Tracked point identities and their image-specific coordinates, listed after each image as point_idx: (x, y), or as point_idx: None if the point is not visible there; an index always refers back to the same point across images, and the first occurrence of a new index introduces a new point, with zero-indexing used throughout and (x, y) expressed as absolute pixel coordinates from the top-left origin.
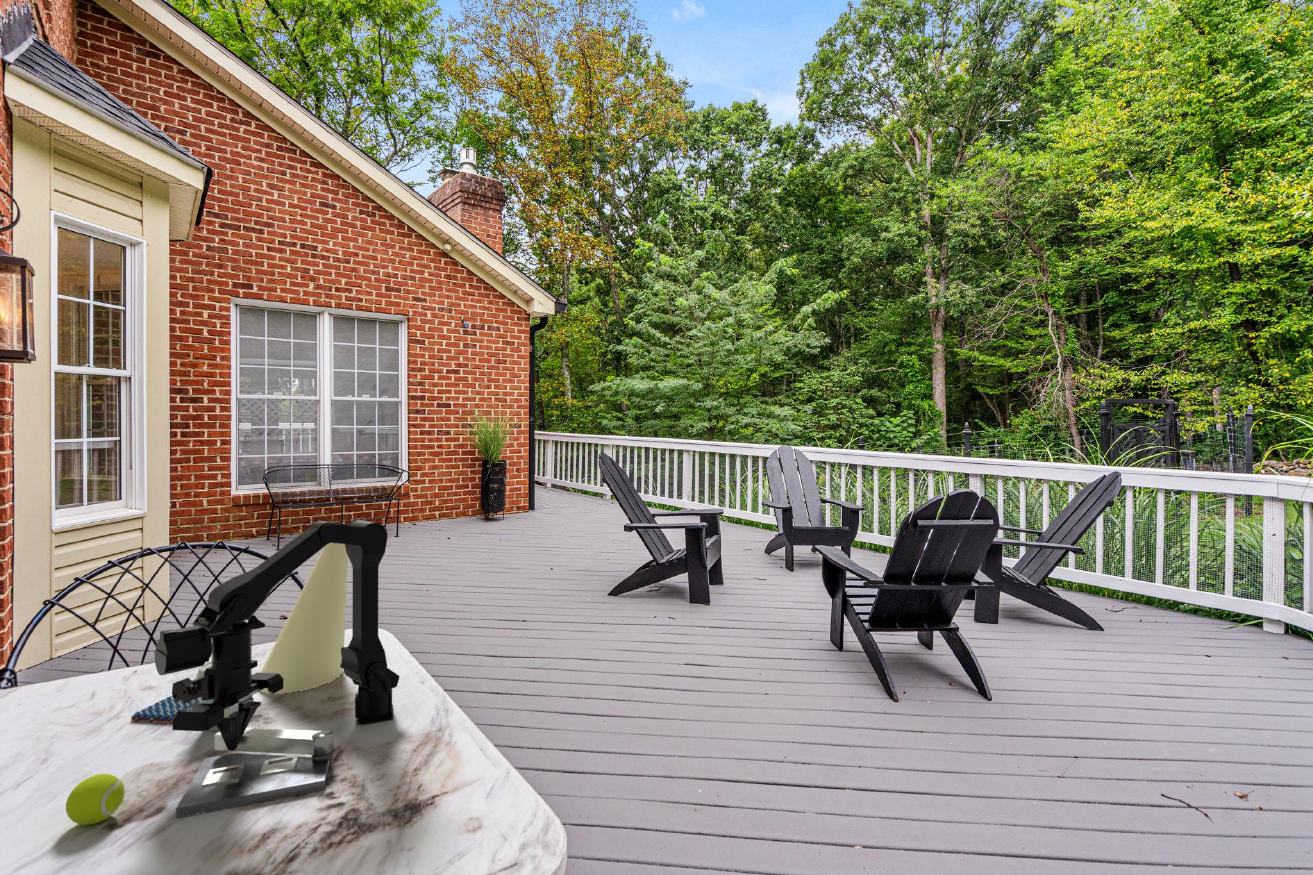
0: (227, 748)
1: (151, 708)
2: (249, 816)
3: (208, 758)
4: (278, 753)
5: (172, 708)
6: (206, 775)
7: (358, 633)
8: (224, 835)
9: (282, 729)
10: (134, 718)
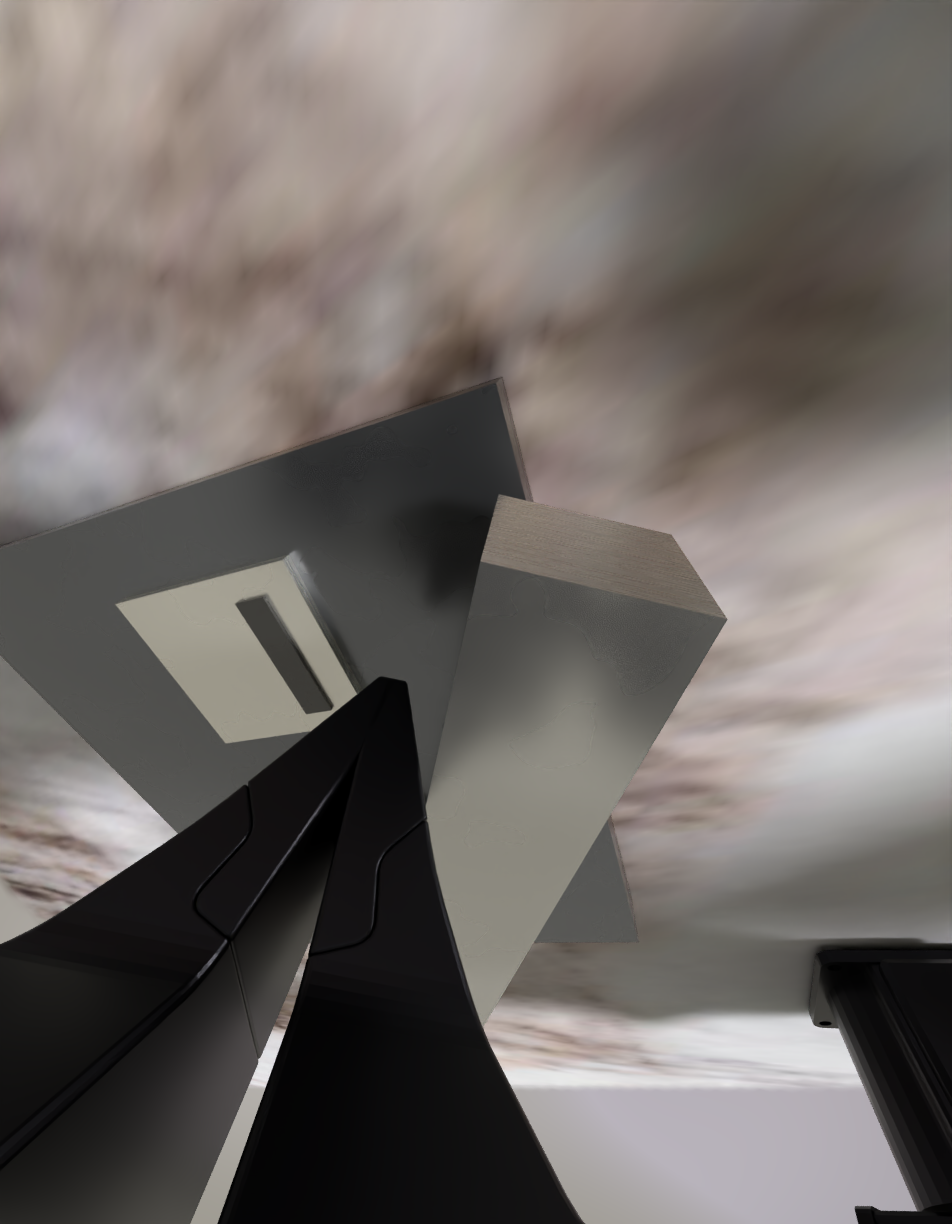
0: (370, 683)
1: None
2: (117, 787)
3: (491, 423)
4: None
5: None
6: (242, 556)
7: None
8: (9, 758)
9: (513, 971)
10: None
